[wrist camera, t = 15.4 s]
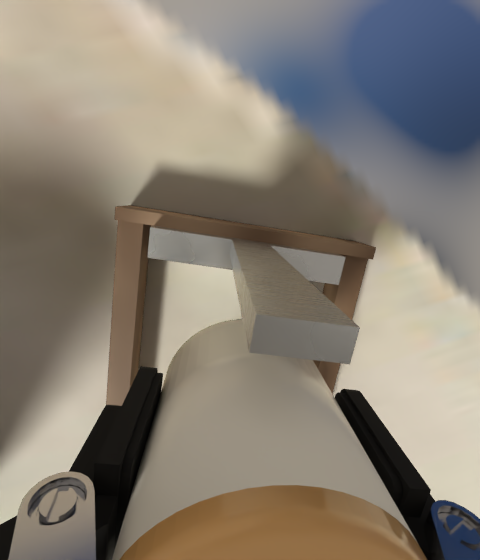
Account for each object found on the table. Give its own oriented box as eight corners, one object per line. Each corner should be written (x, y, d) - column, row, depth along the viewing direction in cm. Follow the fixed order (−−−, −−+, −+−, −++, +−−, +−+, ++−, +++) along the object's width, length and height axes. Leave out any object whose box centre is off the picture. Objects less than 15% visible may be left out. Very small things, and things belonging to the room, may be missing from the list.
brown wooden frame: (111, 462, 21) (97, 497, 18) (130, 205, 17) (115, 206, 14) (295, 476, 22) (305, 509, 20) (355, 240, 18) (376, 247, 16)
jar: (151, 440, 13) (43, 831, 5) (182, 303, 11) (99, 546, 3) (291, 462, 13) (392, 831, 6) (337, 337, 12) (557, 600, 4)
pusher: (159, 247, 17) (18, 365, 5) (161, 222, 17) (17, 283, 5) (319, 270, 18) (521, 416, 6) (324, 247, 18) (550, 352, 6)
